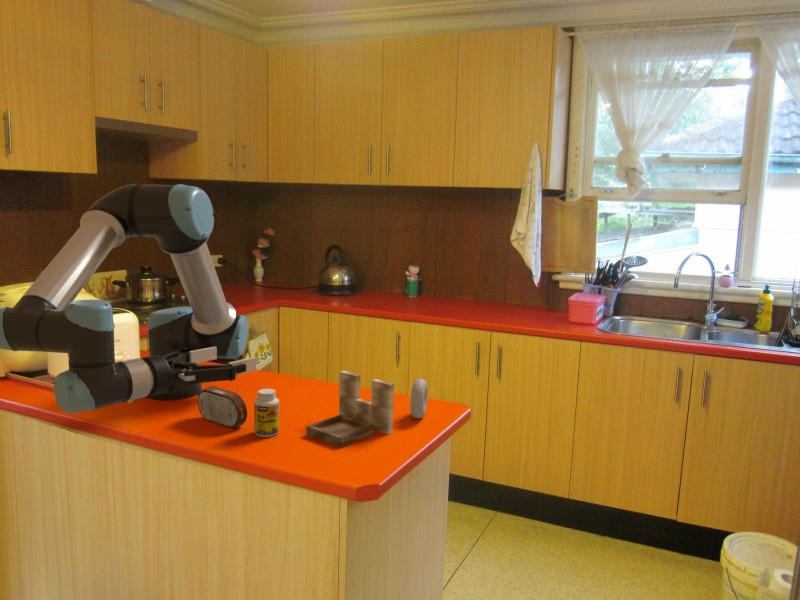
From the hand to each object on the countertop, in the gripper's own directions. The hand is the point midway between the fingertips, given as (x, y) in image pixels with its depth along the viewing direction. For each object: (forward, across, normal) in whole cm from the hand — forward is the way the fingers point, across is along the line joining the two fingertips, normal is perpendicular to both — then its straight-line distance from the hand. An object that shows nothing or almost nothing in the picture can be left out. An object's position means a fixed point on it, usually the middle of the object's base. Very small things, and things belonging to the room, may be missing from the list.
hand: (235, 358), depth 141 cm
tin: (+6, -13, -20) cm, 24 cm away
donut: (+42, +19, -20) cm, 50 cm away
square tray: (+20, +13, -20) cm, 31 cm away
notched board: (+28, +13, -19) cm, 37 cm away
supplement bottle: (+9, 0, -20) cm, 22 cm away
